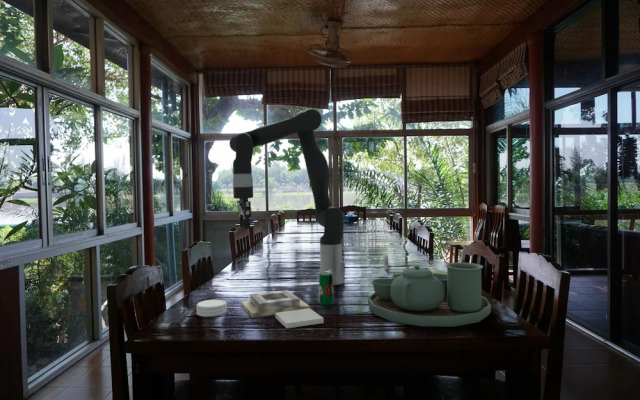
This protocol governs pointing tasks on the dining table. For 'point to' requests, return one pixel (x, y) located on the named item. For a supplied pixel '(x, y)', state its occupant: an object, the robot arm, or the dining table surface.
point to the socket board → (269, 312)
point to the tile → (298, 318)
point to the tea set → (431, 296)
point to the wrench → (385, 262)
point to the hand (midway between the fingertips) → (244, 227)
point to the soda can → (326, 288)
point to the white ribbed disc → (211, 308)
